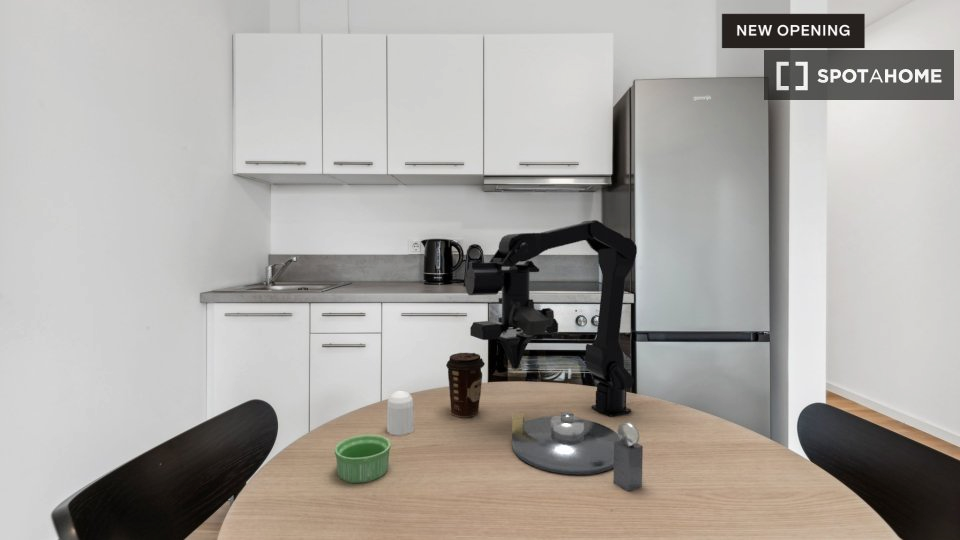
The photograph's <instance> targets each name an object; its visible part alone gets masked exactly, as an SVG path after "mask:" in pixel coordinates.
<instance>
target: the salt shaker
mask: <svg viewBox="0 0 960 540" xmlns="http://www.w3.org/2000/svg"><path fill="white" fill-rule="evenodd" d="M386 403H387V405H386V408H387V409H386V410H387V412H386V414H387V417H386V418H387V419H386V421H387V426H386V427H387V429H386V430H387V433H388V432H389V433H390V434H389V433H388V434H389V435H392V434H393V435H392V436H406V435H409V434H411V433H413V432H414V430H415V428H414V427H415V423H414V422H415V420H414V419H415V417H414V416H415V415H414V413H415V412H414V410H415V409H414V399H413V396H412V395H411V394H410V393H409V392H407V391H406V390H405V391H404V390H397V391H395V392H393V393H392V394H391V395H390V396H389V397H388V400H387V402H386ZM410 432H411V433H410ZM408 433H409V434H408ZM405 434H406V435H405Z"/></svg>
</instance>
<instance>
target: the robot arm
mask: <svg viewBox="0 0 960 540" xmlns="http://www.w3.org/2000/svg"><path fill="white" fill-rule="evenodd" d="M583 241H586V243H587V244H588V246H589V247H590V248H591V250H593V251H595V252H596V253H597V256H598V257H597V258H598V260H597V261H598V266H599V268H600V271H601V273H602V283H601V293H600V301H599V310H598V320H597V329H596V331H597V332H596V337H595V339H594V340H593V342H592V344H590V343H586V345H585V354H584V355H585V356H584V359H583V361H584V362H585V368H586V369H587V371H588V372H589V373H590V375H591V379H592V380H593V381H596V382H598V383H596V390H595V404H594V405H591V409H594V410H596V411H597V412H600V413H602V414H605V415H607V416H609V417H616V416H619V415H625V414H628V413H632V408H630V407H627V390H629V389H632V388H633V387H634V386H633V385H634V381H635V378H634V377H633V375H631V374H630V372H629V371H628V370H627V369H626V368H625V354H624V351H623V348H622V346H621V344H620V332H621V322H622V313H623V305H624V295H625V287H626V286H625V285H626V279H627V277H628V275H629V274H630V272H631V270H632V269H633V267H634V265H635V261H636V258H637V252H638V249H637V248H638V247H637V244H635V242H634V240H632V238H629V237H626V236H624V235H623V234H621V233H620V232H617V231H615V230H614V229H612V228H609V227H608V226H606V225H605V224H603V223H602V222H601V221H599V220H595V219H594V220H593V219H591V220H584V221H582V222H580V223H577V224H572V225H568V226H564V227H559V228H555V229H551V230H546V231H543V232H526V233H525V232H523V233H521V232H520V233H511V234H505V235H504V236H502V237H501V239H500V241H499V242H498V243H499V244H498V249H497V250H496V252H495V254H493V256H492V257H491V259H490V260H489V262H479V261H469V262H468V269H467V271H466V276H465V278H464V285H465V290H466V293H467V295H468V296H495V295H498V294H499V292H501V297H498V303H499V304H501V317H498V323H496V322H493V321H489V320H485V321H483V320H482V321H473V322H472V325H471V326H470V333H469V334H470V335H469V336H470V337H474V338H477V339H479V340H483V341H491V340H499V342H500V344H501V346H502V347H503V349H504V352H505V354H506V356H507V358H508V360H509V361H508V362H509V363H510V366H511V368H512V369H519V368H520V364H521V361H522V358H523V355H524V354H525V351H526V348H527V346H528V345H529V343H531V341H533V340H534V339H536V338H537V335H539V334H540V335H545V334H552V333H553V334H555V333H559V323H558V321H557V320H556V318H555V311H554V310H553V309H551V307H547V308H545V307H544V308H541V309H537V308H535V303H534V299H532V298H530V281H531V279H530V278H531V276H530V274H531V273H539V272H540V268H539V267H538V266H536V265H535V263H534V262H533V261H532V260H531V259H534V258H536V257H537V256H540V254H542V253H544V252H546V251H548V250H551V249H554V248H558V247H563V246H566V245H571V244H574V243H579V242H583ZM521 262H522V263H521ZM523 262H524V263H523ZM518 263H520V264H518ZM504 267H505V268H506V269H504ZM502 268H503V269H502Z"/></svg>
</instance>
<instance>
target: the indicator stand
mask: <svg viewBox="0 0 960 540" xmlns="http://www.w3.org/2000/svg"><path fill="white" fill-rule="evenodd" d="M617 434H618V435H619V438H620V440H621V441H618V442H615V443H614V468H613V479H612V480H613V484H614V485H616V486H618V487H620V488H622V489H623V490H626V492H627V493H628V492H631V491H634V490H636V489H639V488H641V487H643V455H644V454H643V453H644V452H643V449H644V447H643V445H642V444H639V441H640V432H639V429H638V427H637V426H636V425H635V424H634V423H633V422H631V421H625V422H621V423H620V424H619V425H618V428H617Z"/></svg>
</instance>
